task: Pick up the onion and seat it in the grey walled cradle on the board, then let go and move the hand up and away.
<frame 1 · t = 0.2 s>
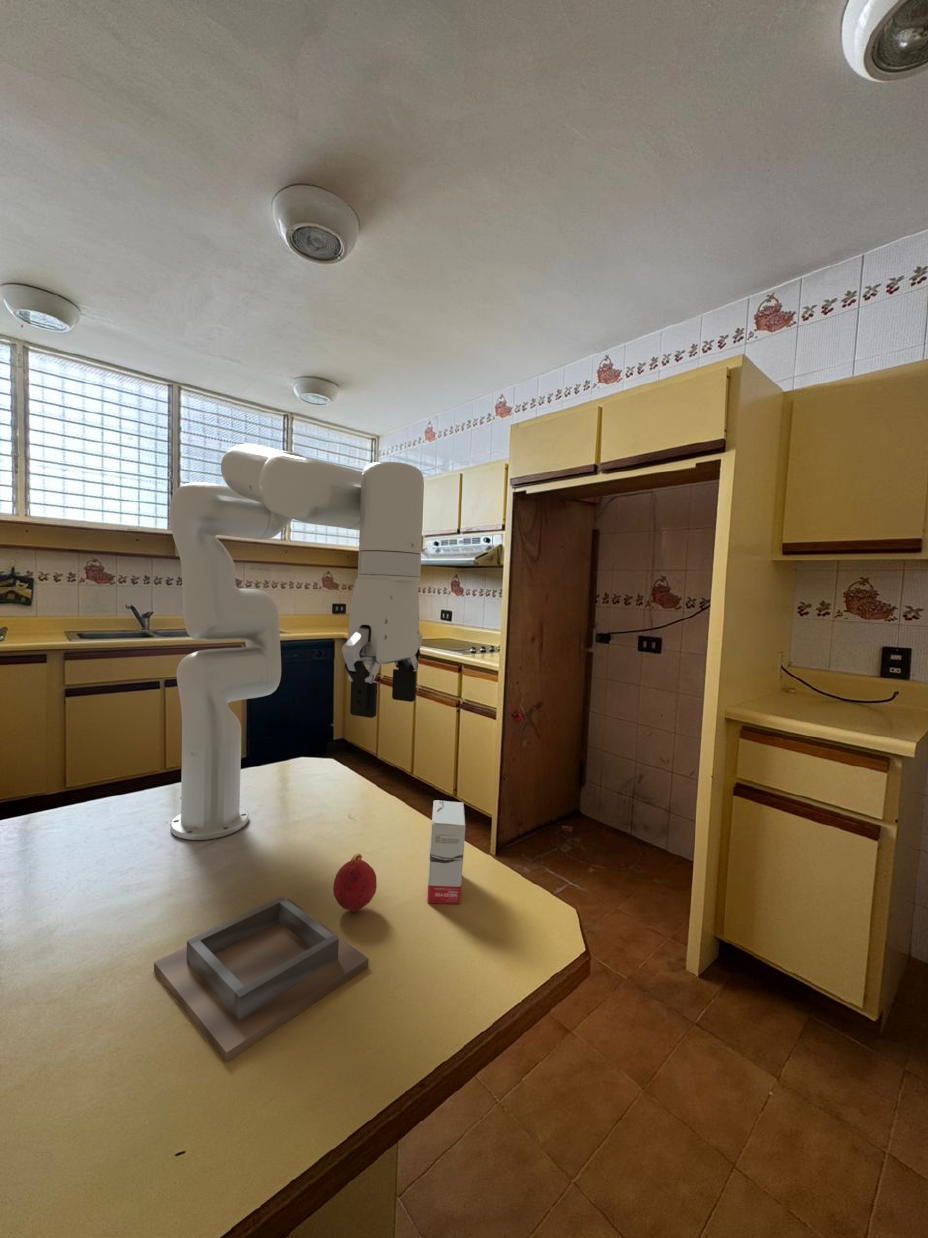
hand: (384, 707, 65), 30 cm above the kitchen island, tool pointing down, fingers open, 9 cm apart
dock: (263, 968, 61), on the kitchen island
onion: (354, 912, 73), on the kitchen island
ink box: (444, 888, 80), on the kitchen island
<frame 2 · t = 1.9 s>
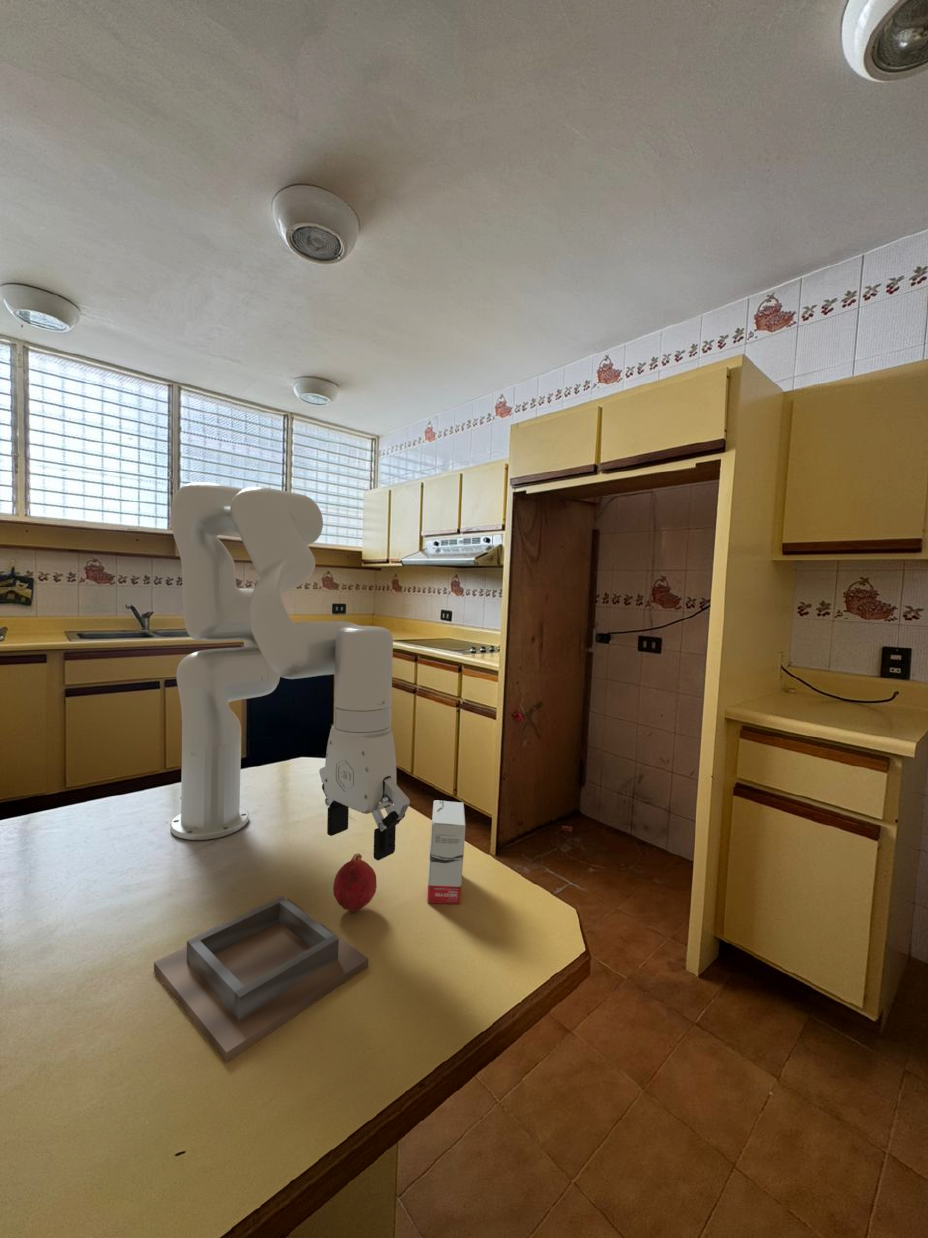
hand: (360, 843, 72), 10 cm above the kitchen island, tool pointing down, fingers open, 9 cm apart
nothing on the kitchen island moved.
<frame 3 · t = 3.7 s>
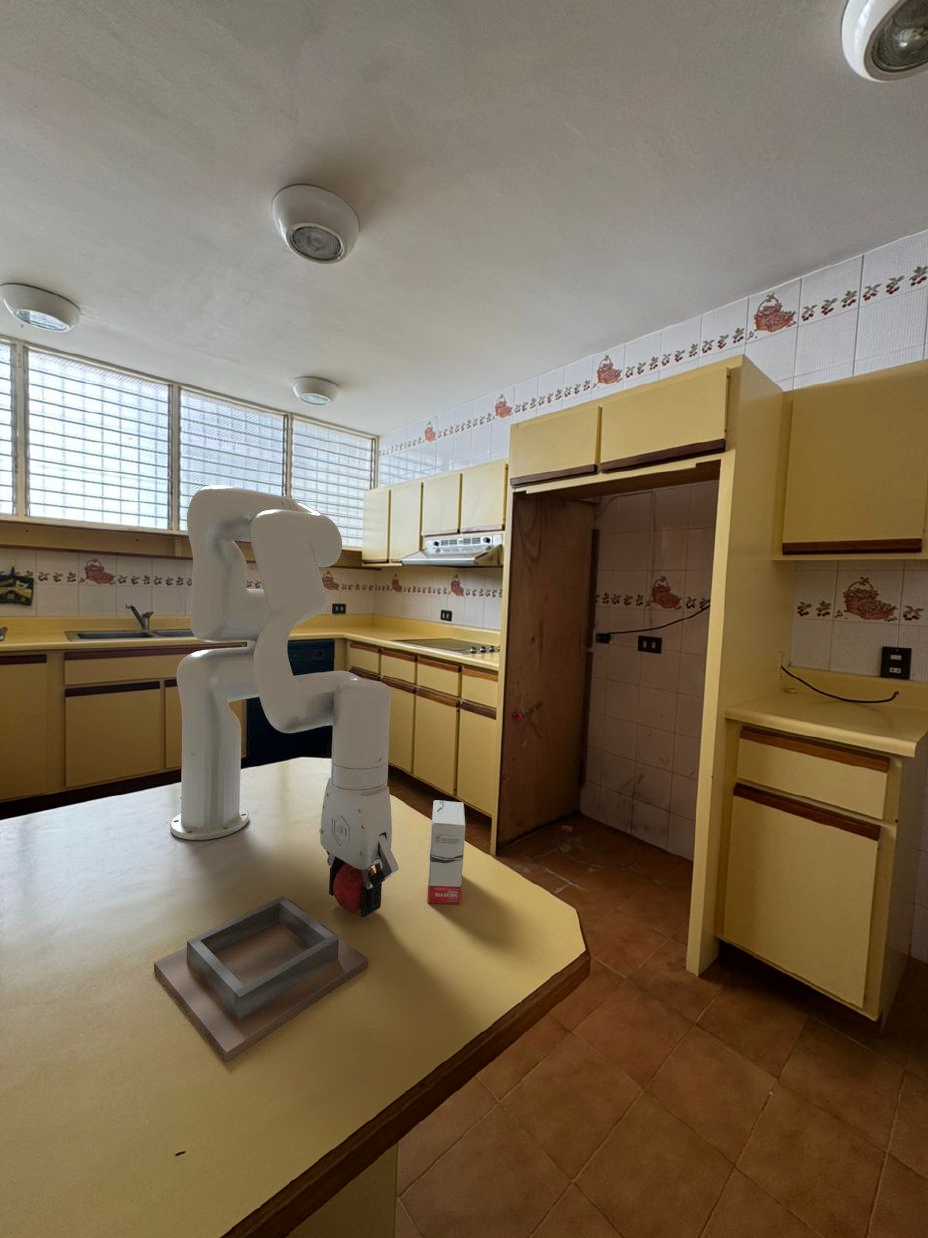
hand: (354, 900, 73), 2 cm above the kitchen island, tool pointing down, fingers closed on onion, 5 cm apart
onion: (354, 912, 73), on the kitchen island, touching gripper
everything else where it was.
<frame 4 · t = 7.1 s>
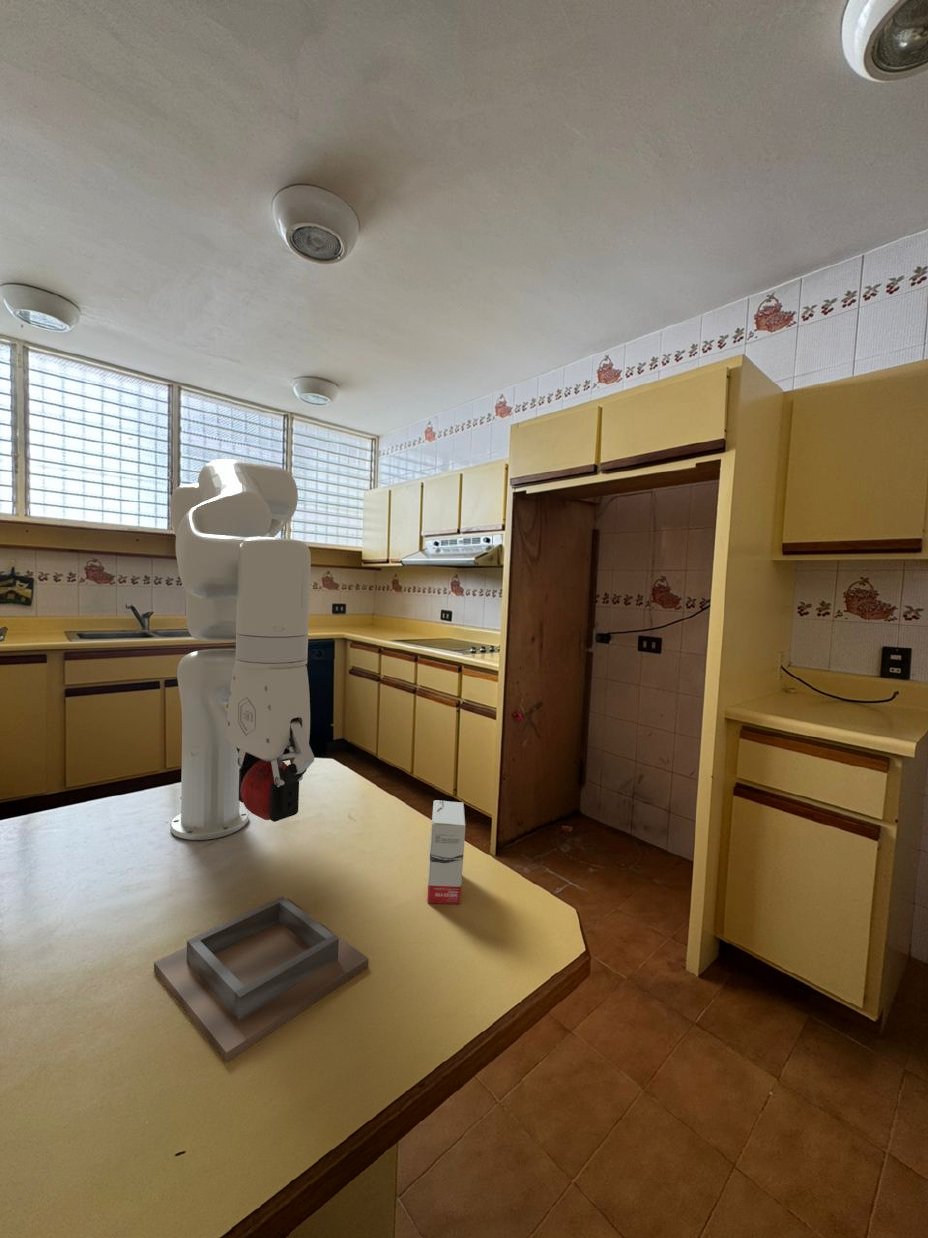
hand: (267, 806, 60), 19 cm above the kitchen island, tool pointing down, fingers closed on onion, 5 cm apart
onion: (267, 821, 60), point 17 cm above the kitchen island, touching gripper
everything else where it was.
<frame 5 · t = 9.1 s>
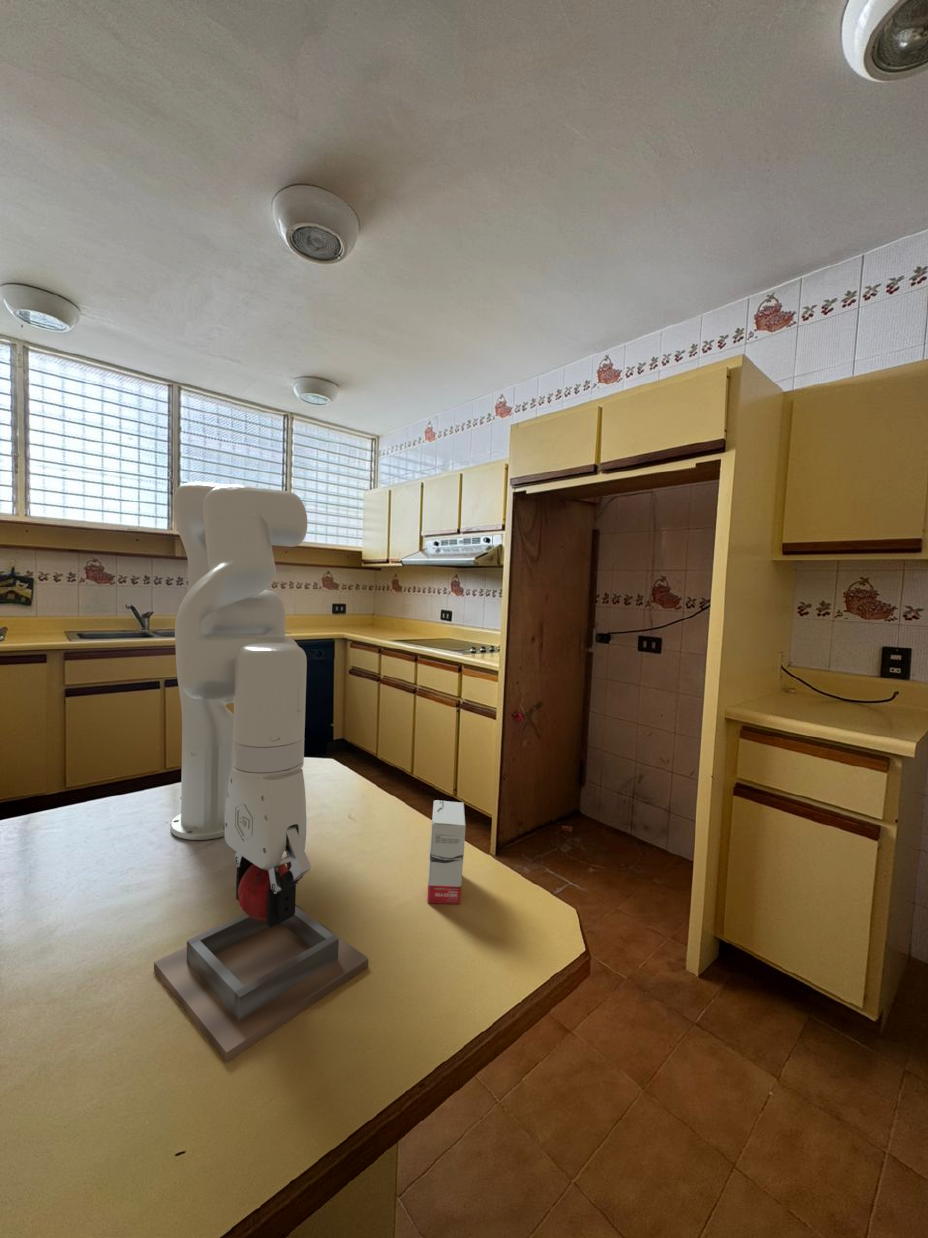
hand: (265, 906, 61), 8 cm above the kitchen island, tool pointing down, fingers closed on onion, 5 cm apart
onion: (264, 921, 61), point 6 cm above the kitchen island, touching gripper
everything else where it was.
when the fingers open (4 cm above the kitchen island, at t = 10.7 s): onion drops 2 cm, resting on dock.
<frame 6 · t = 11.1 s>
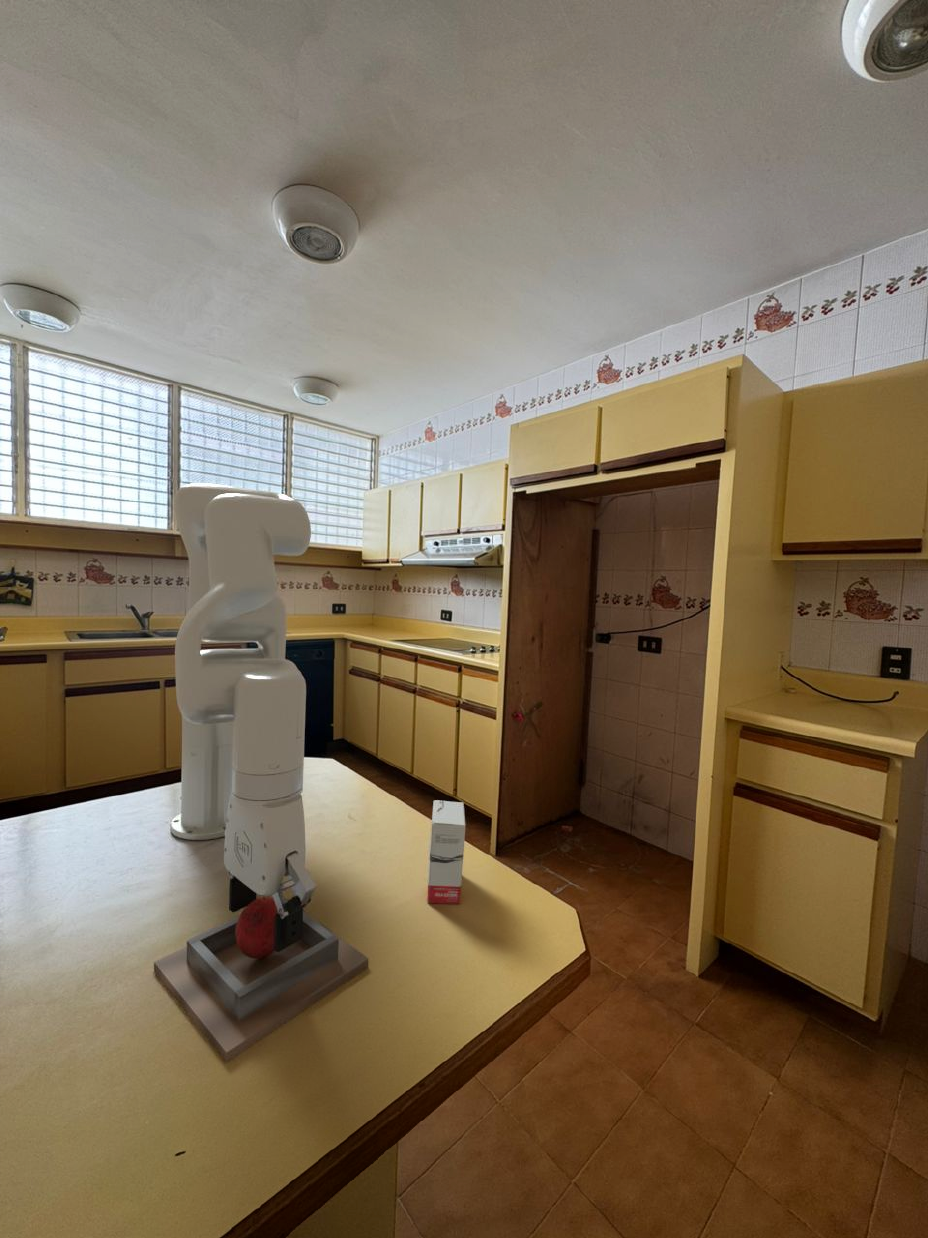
hand: (264, 924, 61), 5 cm above the kitchen island, tool pointing down, fingers open, 9 cm apart
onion: (261, 960, 62), point 1 cm above the kitchen island, touching dock
everything else where it was.
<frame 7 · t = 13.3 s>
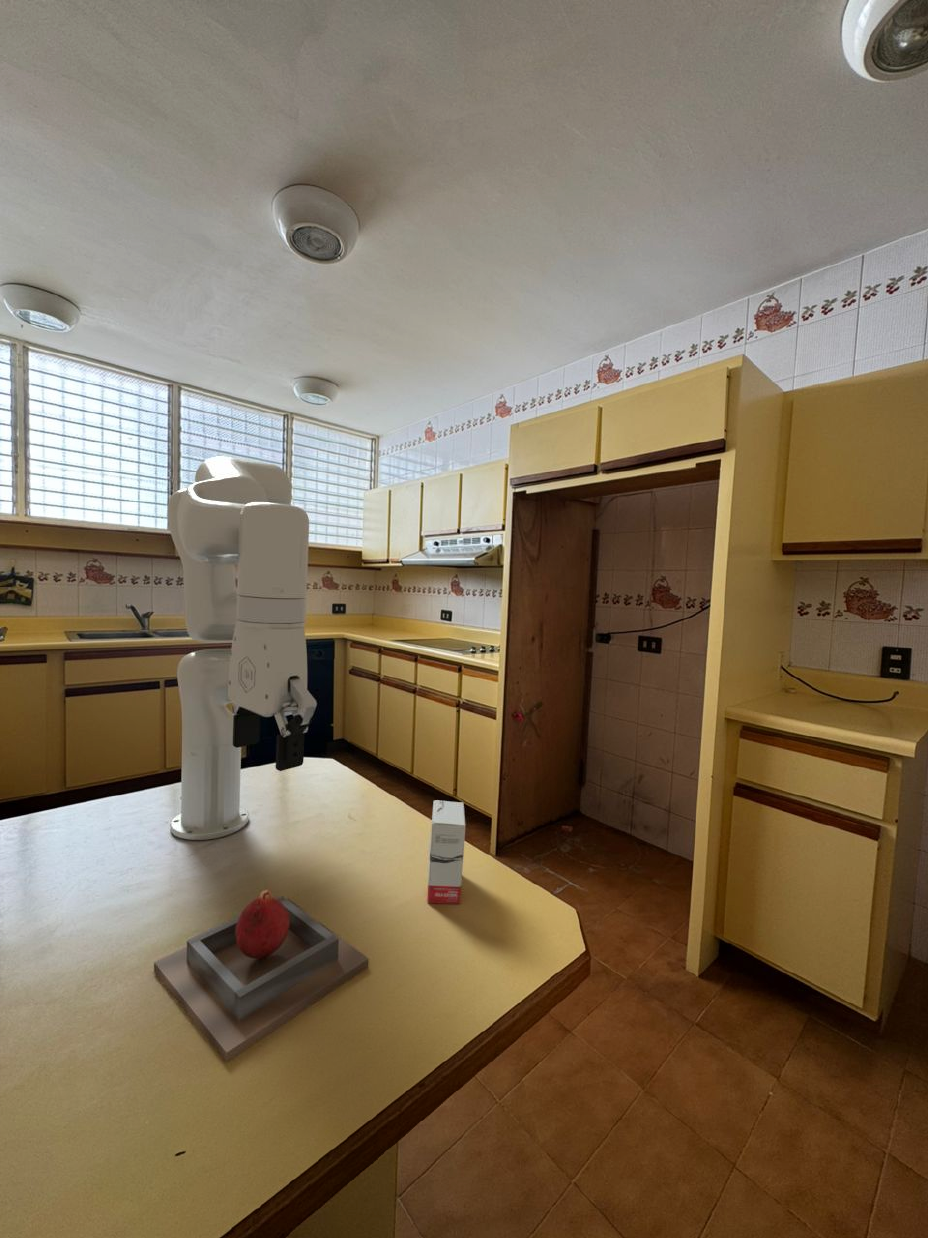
hand: (266, 755, 63), 24 cm above the kitchen island, tool pointing down, fingers open, 9 cm apart
nothing on the kitchen island moved.
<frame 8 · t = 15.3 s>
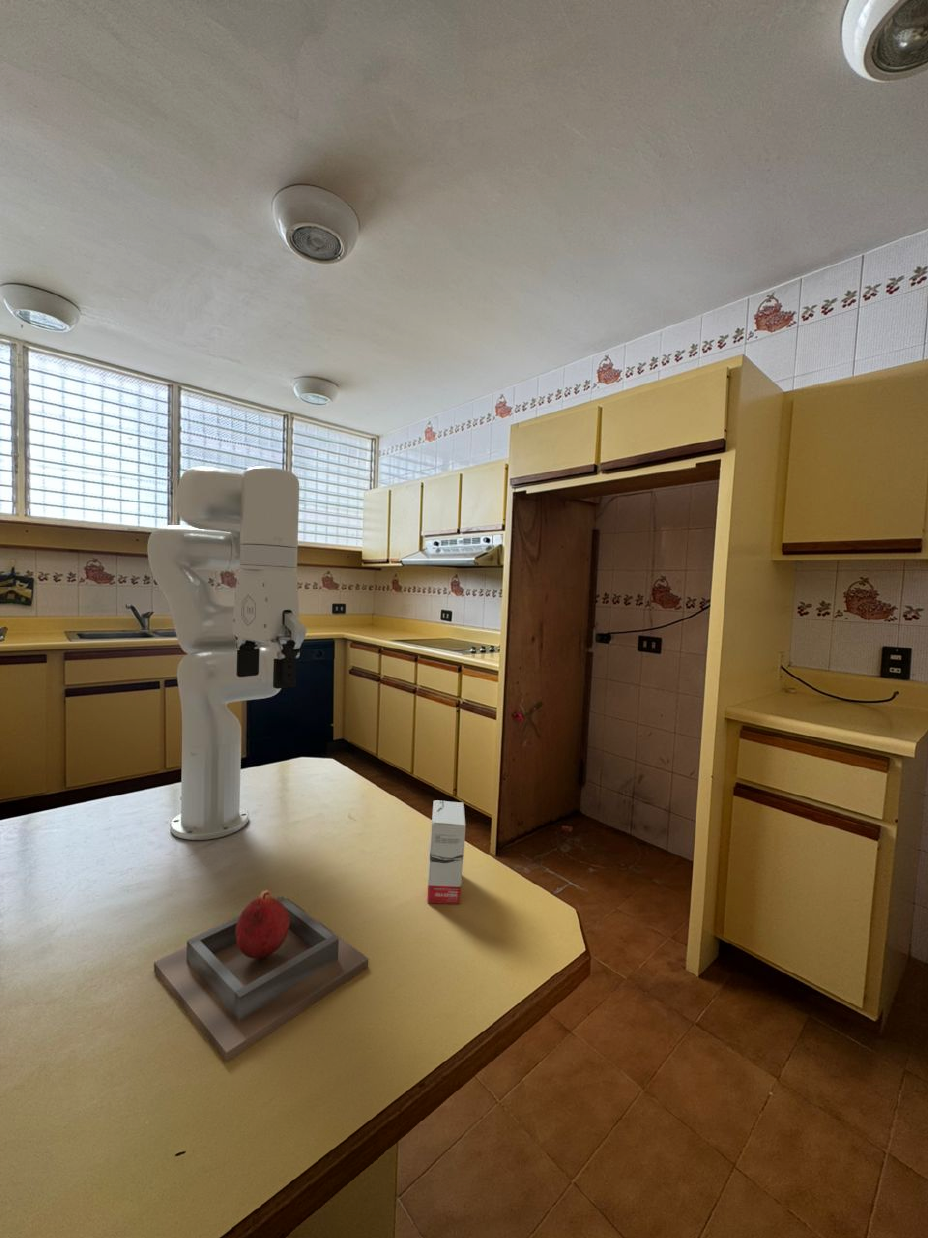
hand: (265, 681, 75), 30 cm above the kitchen island, tool pointing down, fingers open, 9 cm apart
nothing on the kitchen island moved.
at the end: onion 0.4 cm off-centre on the dock, point 0.8 cm above the dock's base; the gripper is holding nothing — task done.
